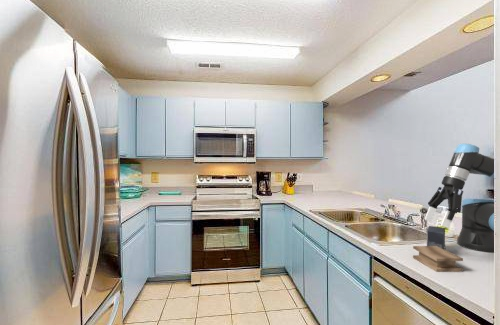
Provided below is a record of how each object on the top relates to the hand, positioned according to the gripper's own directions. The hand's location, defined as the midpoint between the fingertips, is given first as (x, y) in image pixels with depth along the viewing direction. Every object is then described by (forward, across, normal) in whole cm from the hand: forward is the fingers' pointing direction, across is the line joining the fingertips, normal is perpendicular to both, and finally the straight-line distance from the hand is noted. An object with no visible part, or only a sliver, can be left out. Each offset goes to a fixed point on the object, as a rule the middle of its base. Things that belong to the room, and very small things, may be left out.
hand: (435, 223), depth 109 cm
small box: (+12, -6, +7) cm, 15 cm away
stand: (+15, +9, +1) cm, 18 cm away
